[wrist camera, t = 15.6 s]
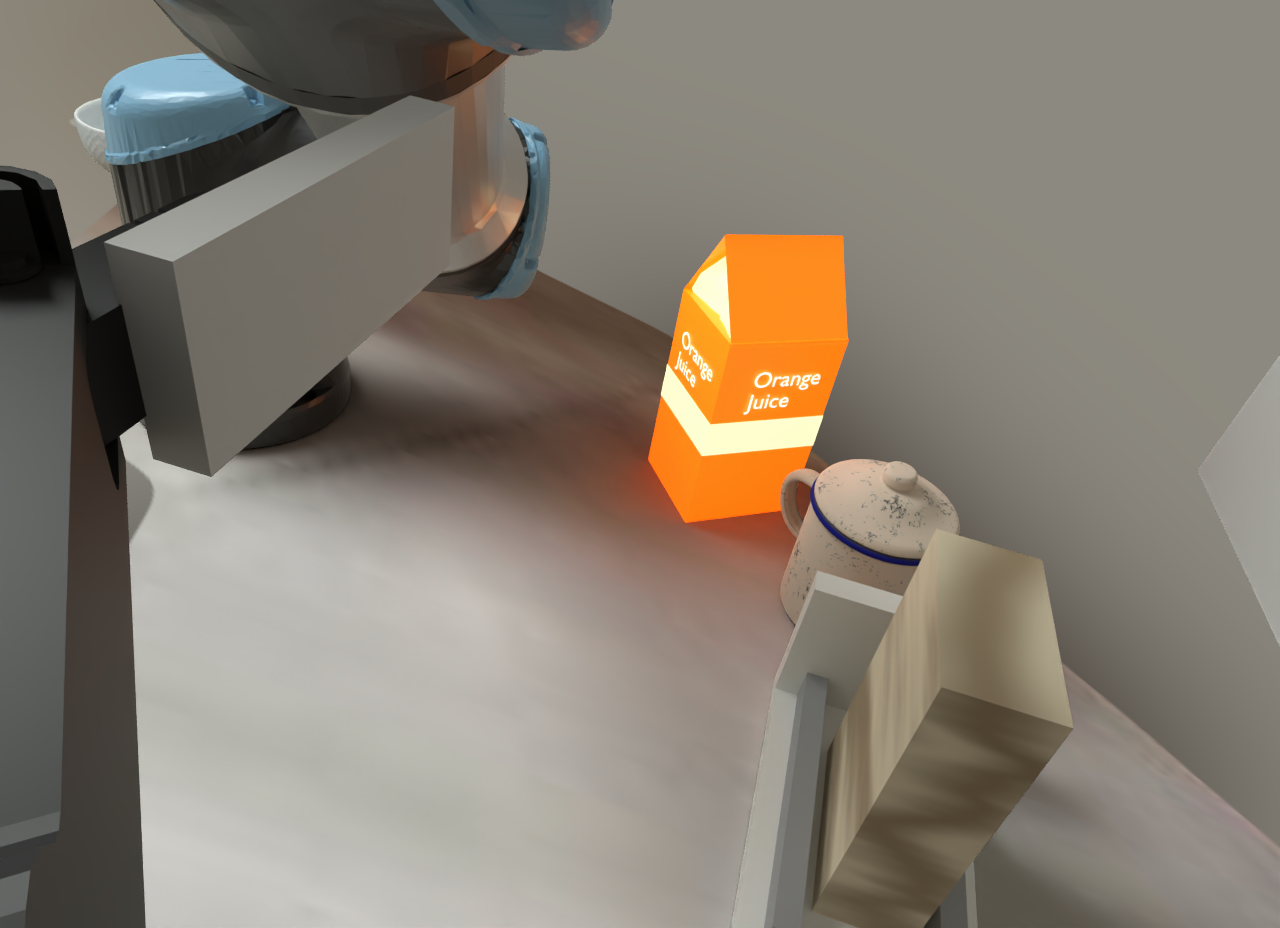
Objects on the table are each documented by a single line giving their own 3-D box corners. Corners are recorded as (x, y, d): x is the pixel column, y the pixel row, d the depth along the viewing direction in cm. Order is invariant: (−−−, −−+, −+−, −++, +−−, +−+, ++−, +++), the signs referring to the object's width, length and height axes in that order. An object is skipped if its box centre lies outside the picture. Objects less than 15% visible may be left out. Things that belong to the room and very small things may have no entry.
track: (974, 1036, 37) (1070, 939, 32) (726, 948, 38) (779, 840, 33) (959, 738, 50) (1025, 633, 44) (774, 679, 51) (817, 570, 46)
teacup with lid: (938, 629, 57) (1012, 493, 50) (846, 684, 52) (915, 540, 45) (810, 520, 64) (859, 388, 57) (719, 559, 59) (760, 418, 52)
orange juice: (791, 510, 64) (878, 262, 52) (684, 524, 61) (751, 262, 49) (746, 448, 70) (815, 211, 58) (646, 457, 67) (697, 208, 55)
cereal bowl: (276, 163, 102) (270, 101, 98) (248, 218, 89) (240, 149, 85) (117, 146, 98) (104, 81, 94) (63, 201, 85) (46, 128, 81)
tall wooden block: (811, 911, 39) (941, 687, 30) (827, 750, 46) (936, 528, 37) (909, 945, 38) (1073, 728, 29) (910, 777, 46) (1042, 559, 36)
